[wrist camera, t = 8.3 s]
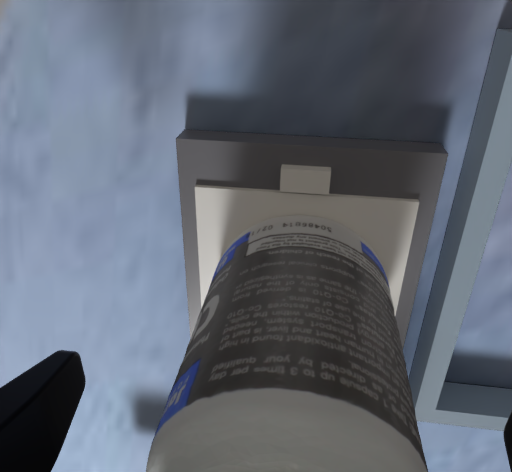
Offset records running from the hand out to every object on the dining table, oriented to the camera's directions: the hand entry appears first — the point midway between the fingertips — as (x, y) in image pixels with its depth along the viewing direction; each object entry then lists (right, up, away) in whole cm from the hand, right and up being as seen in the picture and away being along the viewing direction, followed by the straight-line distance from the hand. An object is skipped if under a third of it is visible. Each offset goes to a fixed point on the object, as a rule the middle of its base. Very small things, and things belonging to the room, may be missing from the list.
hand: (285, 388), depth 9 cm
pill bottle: (+1, +2, +3) cm, 4 cm away
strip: (+1, -2, +7) cm, 7 cm away
